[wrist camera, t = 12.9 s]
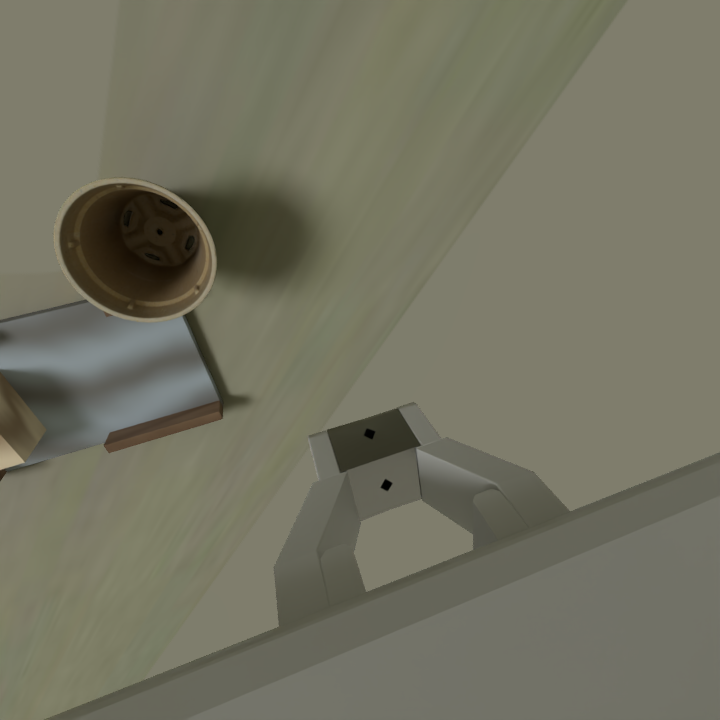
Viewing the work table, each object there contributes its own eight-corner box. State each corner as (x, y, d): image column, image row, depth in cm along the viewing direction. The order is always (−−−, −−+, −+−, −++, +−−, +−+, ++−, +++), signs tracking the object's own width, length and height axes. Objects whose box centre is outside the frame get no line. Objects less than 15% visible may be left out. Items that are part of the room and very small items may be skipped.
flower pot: (225, 285, 36) (223, 320, 29) (110, 286, 33) (76, 326, 26) (214, 173, 32) (209, 182, 24) (81, 165, 29) (30, 172, 22)
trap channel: (-141, 353, 31) (-174, 372, 28) (169, 279, 34) (163, 290, 32) (-22, 474, 38) (-40, 497, 35) (223, 402, 42) (222, 418, 39)
